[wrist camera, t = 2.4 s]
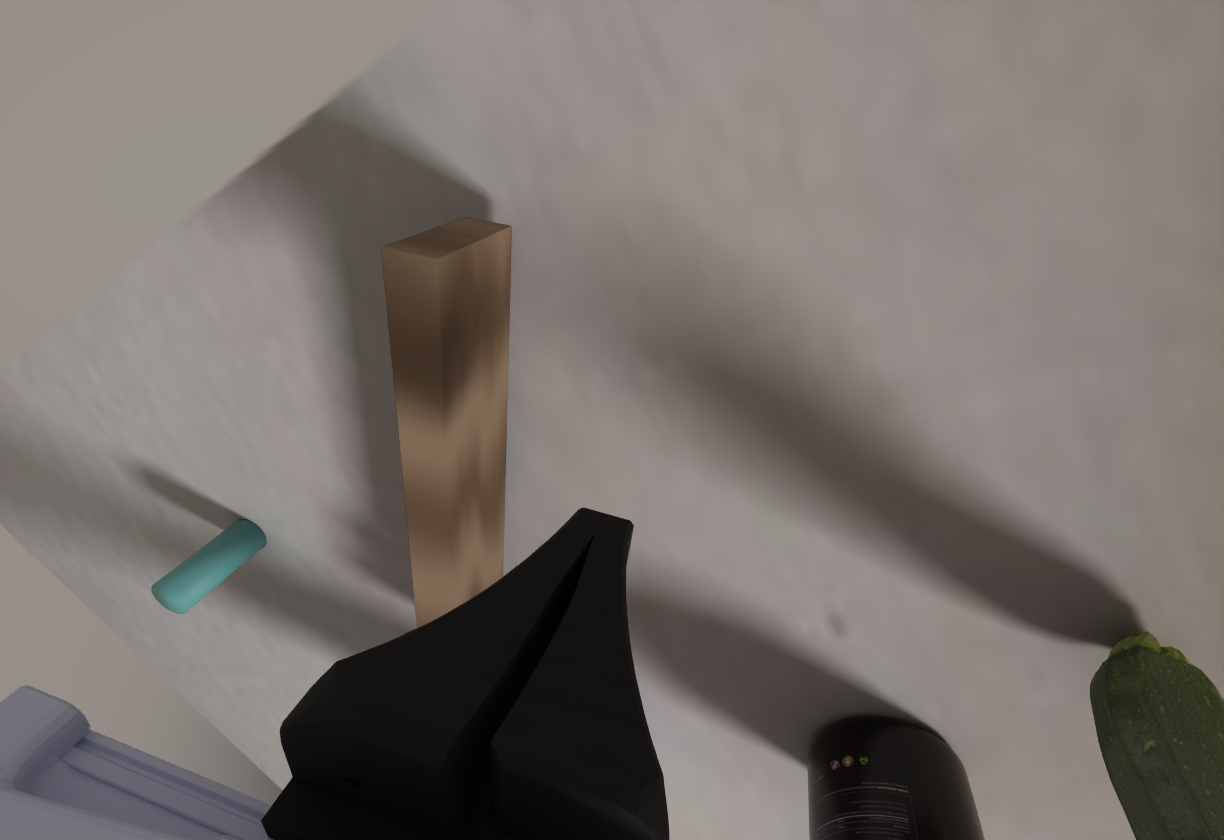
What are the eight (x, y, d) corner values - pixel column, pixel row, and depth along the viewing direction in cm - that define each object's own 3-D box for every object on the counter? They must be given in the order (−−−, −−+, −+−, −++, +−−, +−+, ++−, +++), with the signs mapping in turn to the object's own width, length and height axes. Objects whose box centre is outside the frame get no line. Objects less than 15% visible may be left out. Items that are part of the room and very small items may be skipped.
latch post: (269, 551, 32) (191, 618, 28) (240, 541, 32) (158, 606, 28) (262, 525, 31) (179, 591, 27) (232, 515, 31) (146, 579, 27)
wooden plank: (510, 640, 29) (456, 743, 24) (467, 626, 29) (406, 725, 25) (525, 227, 18) (434, 270, 13) (457, 213, 18) (346, 251, 14)
